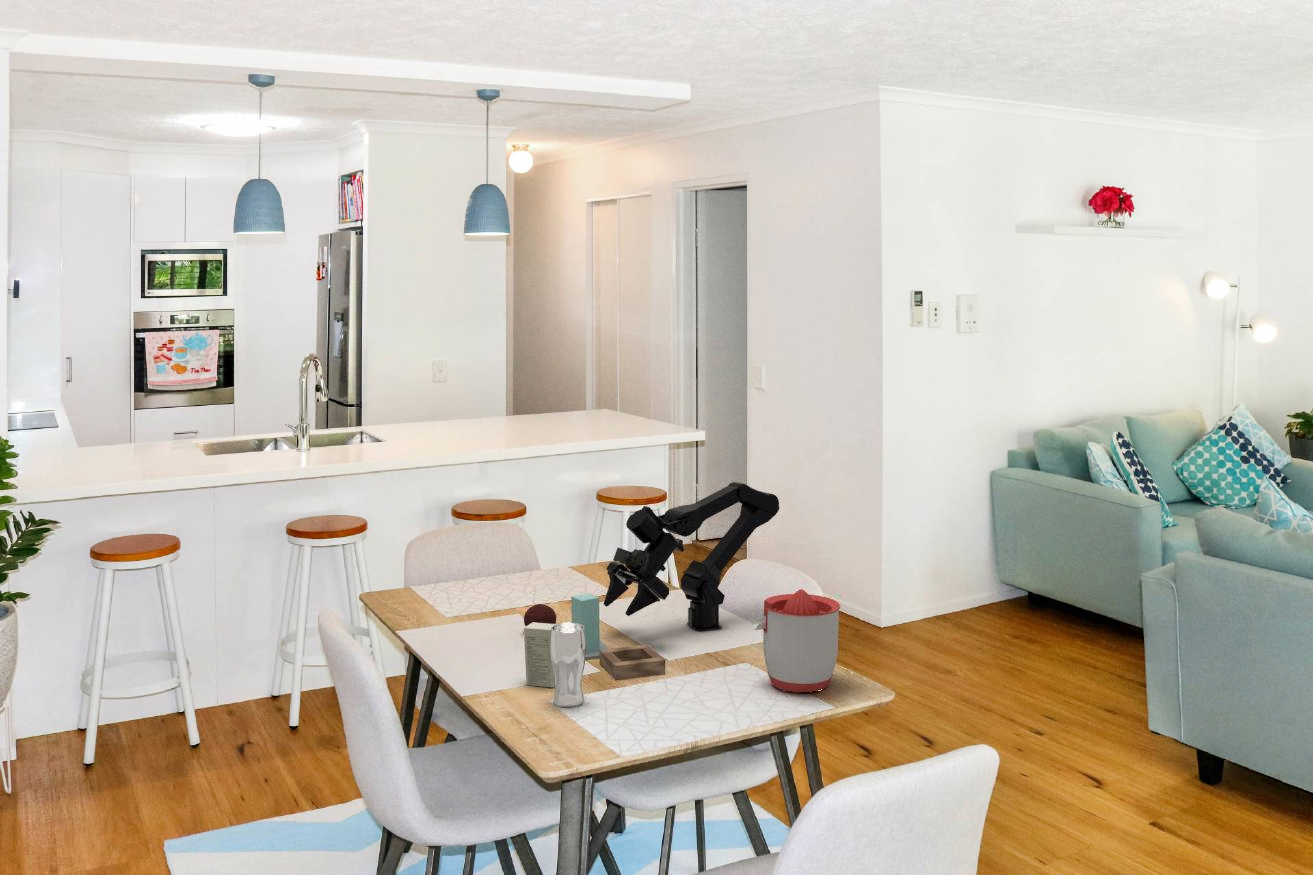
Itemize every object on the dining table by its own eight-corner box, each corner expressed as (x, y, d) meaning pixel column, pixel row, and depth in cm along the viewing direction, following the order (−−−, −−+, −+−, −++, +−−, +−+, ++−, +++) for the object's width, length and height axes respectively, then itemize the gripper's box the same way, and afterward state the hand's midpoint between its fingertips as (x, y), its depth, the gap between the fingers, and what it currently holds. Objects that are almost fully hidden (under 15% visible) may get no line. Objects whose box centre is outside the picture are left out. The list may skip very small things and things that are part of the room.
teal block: (589, 644, 249) (588, 593, 248) (599, 650, 246) (599, 597, 244) (571, 648, 247) (571, 596, 245) (582, 653, 243) (581, 600, 242)
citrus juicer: (750, 671, 234) (751, 578, 231) (833, 671, 233) (835, 579, 231) (755, 697, 218) (756, 599, 216) (843, 698, 218) (845, 599, 215)
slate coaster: (600, 642, 253) (600, 640, 253) (614, 656, 243) (614, 653, 243) (558, 647, 249) (558, 645, 249) (570, 661, 240) (570, 658, 240)
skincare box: (561, 681, 228) (561, 623, 226) (553, 688, 223) (552, 629, 222) (533, 678, 230) (532, 620, 228) (524, 684, 226) (523, 626, 224)
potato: (551, 639, 256) (551, 609, 255) (519, 637, 257) (519, 607, 256) (560, 629, 263) (560, 601, 262) (529, 627, 264) (529, 599, 263)
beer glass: (551, 696, 219) (549, 622, 217) (586, 694, 220) (585, 621, 218) (550, 708, 212) (549, 633, 210) (586, 707, 213) (586, 632, 211)
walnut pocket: (647, 657, 242) (647, 644, 242) (665, 673, 232) (665, 659, 232) (599, 663, 239) (599, 650, 238) (615, 679, 228) (615, 665, 228)
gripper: (612, 527, 258) (572, 580, 253) (657, 541, 243) (616, 599, 238) (640, 555, 264) (602, 608, 259) (686, 571, 248) (646, 627, 244)
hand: (615, 610), depth 250 cm, fingers open, 9 cm apart
